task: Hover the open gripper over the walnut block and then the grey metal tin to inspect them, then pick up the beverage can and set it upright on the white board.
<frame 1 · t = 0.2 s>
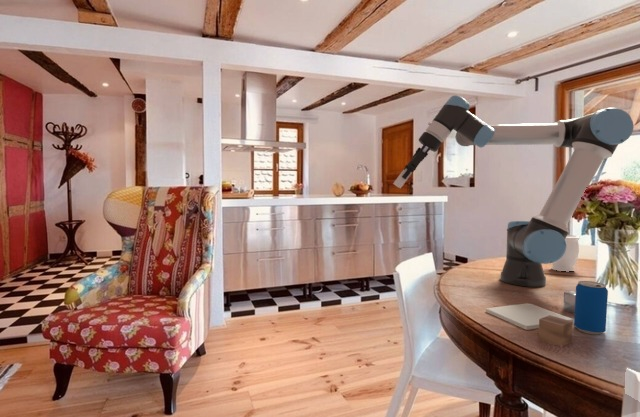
hand: (396, 186, 134), 36 cm above the table, tool tilted 35°, fingers open, 13 cm apart
white board: (527, 317, 103), on the table
grey metal tin: (575, 310, 109), on the table
beverage can: (589, 331, 94), on the table
walnut block: (554, 341, 88), on the table
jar: (562, 270, 161), on the table
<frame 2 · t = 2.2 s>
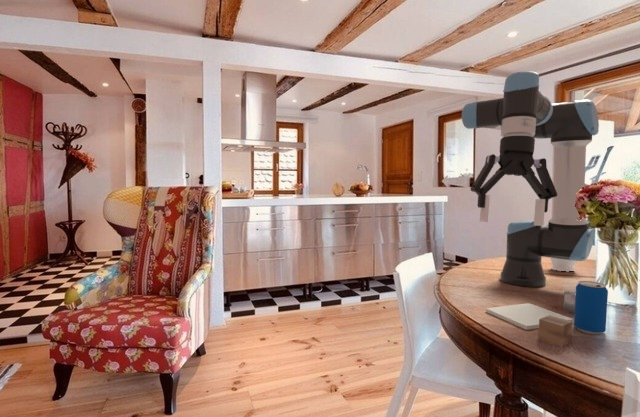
hand: (511, 223, 91), 27 cm above the table, tool pointing down, fingers open, 13 cm apart
nothing on the table moved.
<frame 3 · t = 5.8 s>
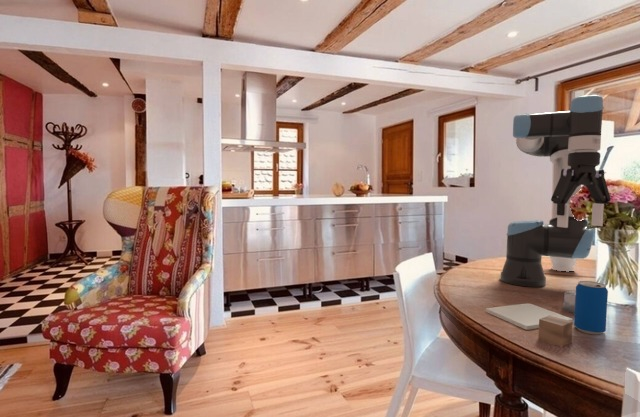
hand: (579, 226, 107), 25 cm above the table, tool pointing down, fingers open, 13 cm apart
nothing on the table moved.
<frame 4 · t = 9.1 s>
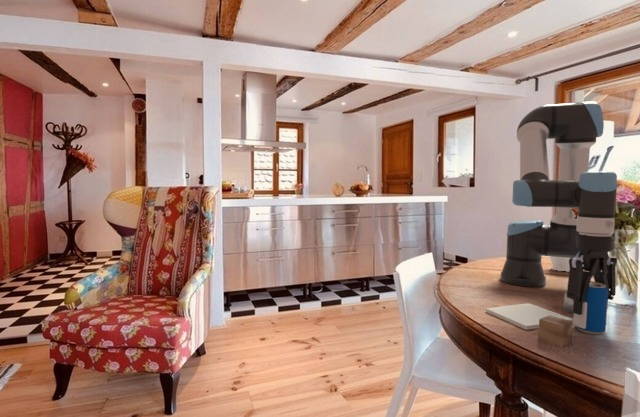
hand: (589, 324, 94), 1 cm above the table, tool pointing down, fingers closed on beverage can, 6 cm apart
beverage can: (589, 331, 94), on the table, touching gripper
everything else where it was.
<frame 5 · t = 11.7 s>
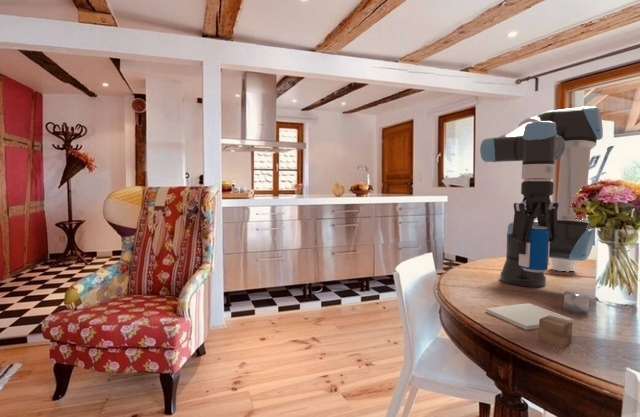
hand: (533, 265, 102), 15 cm above the table, tool pointing down, fingers closed on beverage can, 6 cm apart
beverage can: (533, 271, 102), point 13 cm above the table, touching gripper
everything else where it was.
when the fingers open (3 cm above the table, at t = 14.3 s): beverage can stays where it is, resting on white board.
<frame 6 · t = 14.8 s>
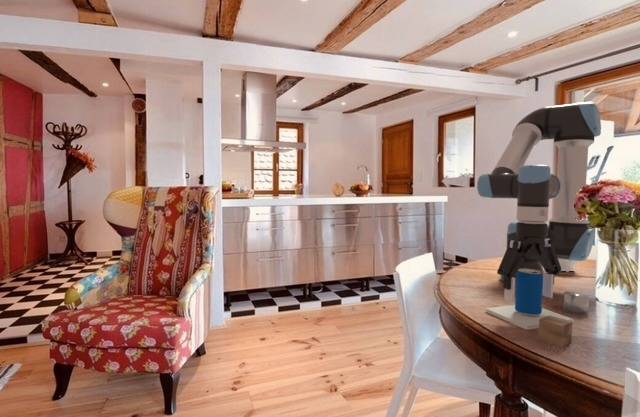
hand: (528, 298, 103), 5 cm above the table, tool pointing down, fingers open, 13 cm apart
beverage can: (527, 314, 103), point 1 cm above the table, touching white board
everything else where it was.
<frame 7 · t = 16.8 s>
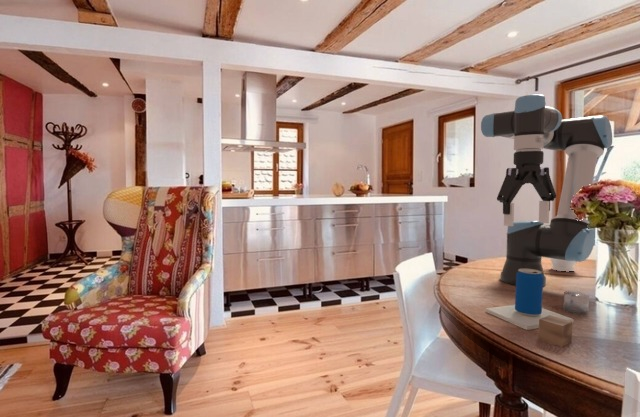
hand: (526, 224, 109), 25 cm above the table, tool pointing down, fingers open, 13 cm apart
nothing on the table moved.
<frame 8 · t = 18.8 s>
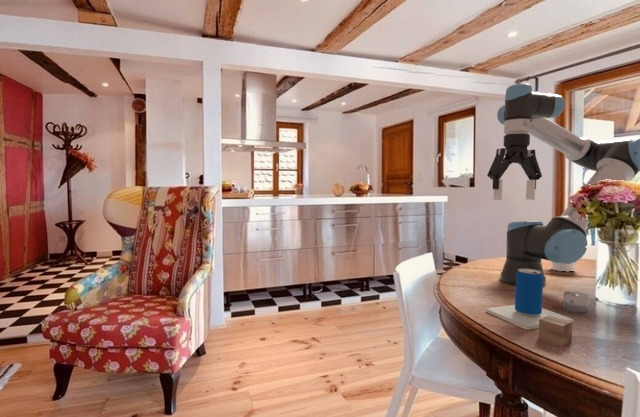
hand: (514, 199, 122), 32 cm above the table, tool pointing down, fingers open, 13 cm apart
nothing on the table moved.
at the end: beverage can inside the target area on the white board (0.0 cm from its centre), point 0.8 cm above the white board's base; beverage can tilted 0°; the gripper is holding nothing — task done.
